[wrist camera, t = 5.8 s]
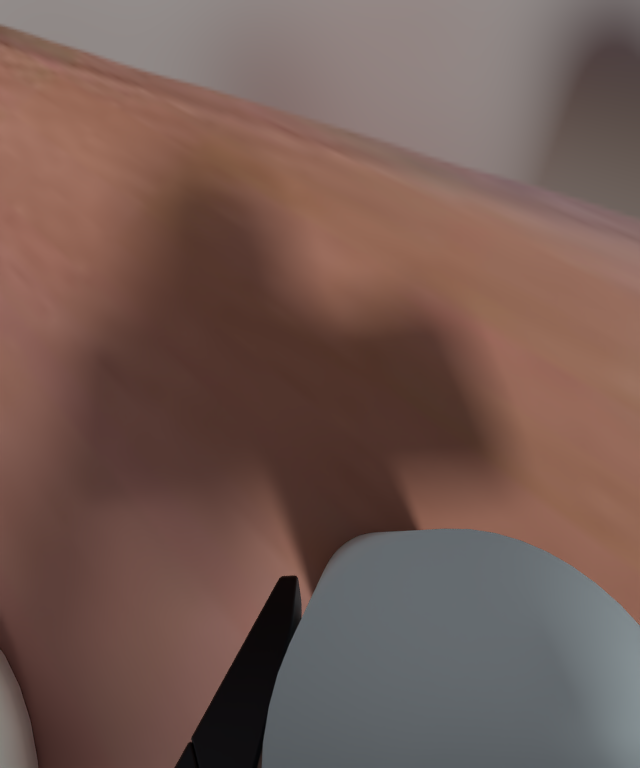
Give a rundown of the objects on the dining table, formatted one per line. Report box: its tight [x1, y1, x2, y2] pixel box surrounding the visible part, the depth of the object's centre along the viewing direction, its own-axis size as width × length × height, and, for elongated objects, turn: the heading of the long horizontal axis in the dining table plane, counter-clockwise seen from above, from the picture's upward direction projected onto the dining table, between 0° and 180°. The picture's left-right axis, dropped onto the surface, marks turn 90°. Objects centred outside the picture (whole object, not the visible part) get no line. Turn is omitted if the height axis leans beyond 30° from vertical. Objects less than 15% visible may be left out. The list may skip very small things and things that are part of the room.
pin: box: [262, 529, 640, 768], centre depth 9 cm, size 5×5×11 cm
